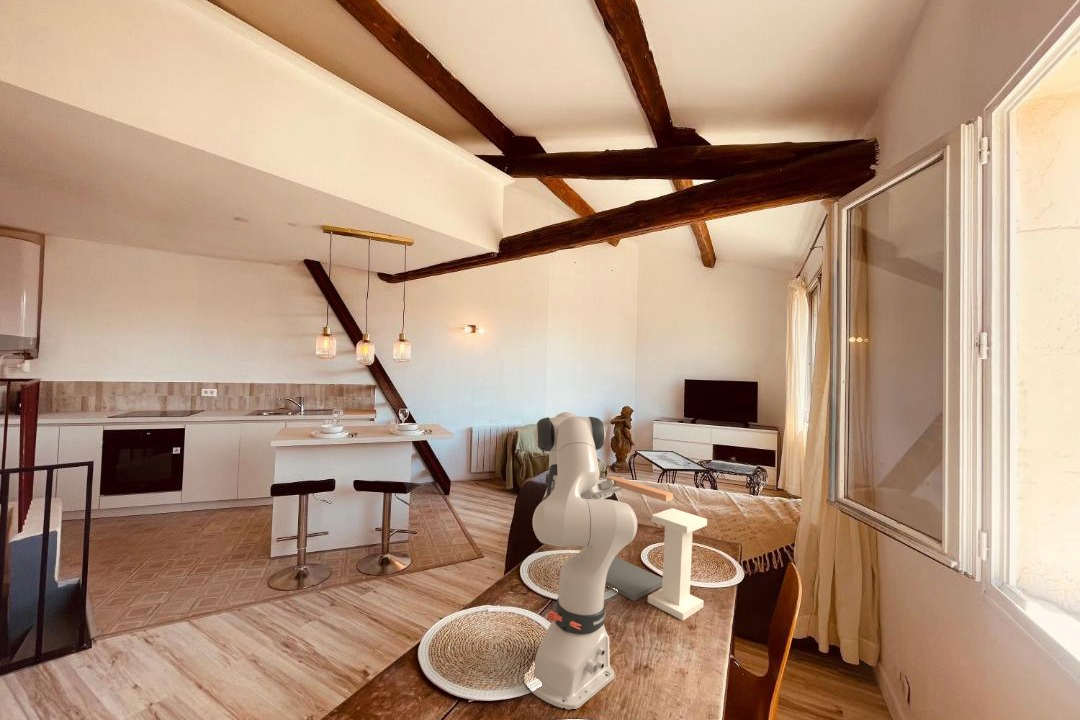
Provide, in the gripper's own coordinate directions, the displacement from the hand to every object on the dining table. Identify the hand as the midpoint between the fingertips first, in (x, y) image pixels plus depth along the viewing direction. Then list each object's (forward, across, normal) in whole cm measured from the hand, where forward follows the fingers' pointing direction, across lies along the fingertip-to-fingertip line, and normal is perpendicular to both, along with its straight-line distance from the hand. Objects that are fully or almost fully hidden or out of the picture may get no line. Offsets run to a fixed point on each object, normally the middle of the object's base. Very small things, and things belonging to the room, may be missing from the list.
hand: (618, 480), depth 150 cm
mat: (-14, 0, +29) cm, 33 cm away
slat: (+6, 0, +5) cm, 8 cm away
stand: (+5, 0, +40) cm, 40 cm away
